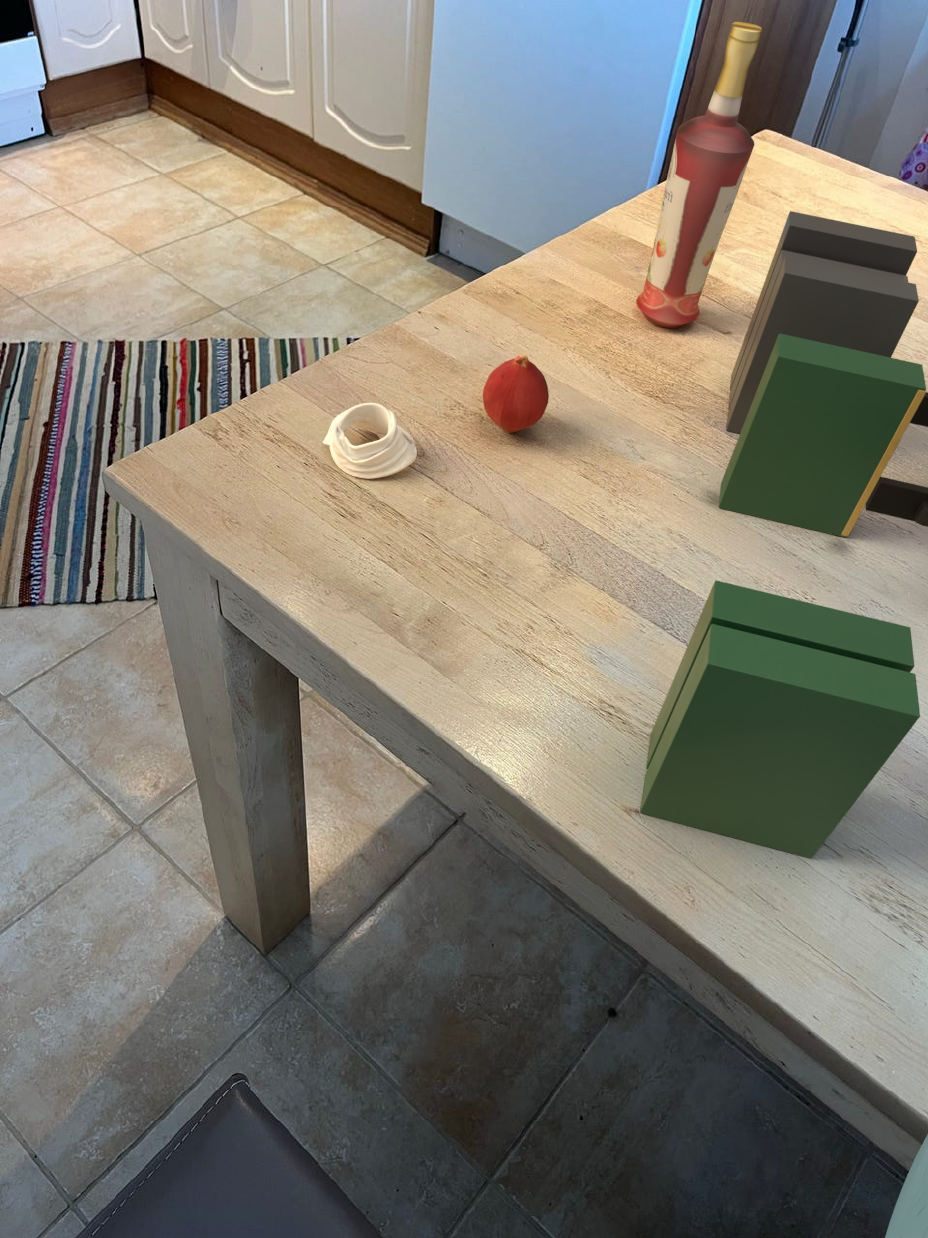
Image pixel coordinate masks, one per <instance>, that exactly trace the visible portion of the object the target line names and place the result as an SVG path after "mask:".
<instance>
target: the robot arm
mask: <svg viewBox="0 0 928 1238" xmlns="http://www.w3.org/2000/svg"><path fill="white" fill-rule="evenodd" d="M909 424H913V425H916V426H921V427H926V428H928V391H926V394H925V396H924V397H923V399H922V401H921V403H920V405H919V407H918V408H917V410H916V412H915V414H914V416H913V418H912V419H911V421H910V423H909ZM865 510H866V511H869V512H872V513H877V514H880V515H885V516H889V517H894V518H898V519H902V520H906V521H910V522H915V524H918V525H920V526H923V527H926V528H928V486H924V485H919V484H916V483H910V482H906V481H902V480H897V479H893V478H889V477H885V476H881V477H880V478H879V480H878V482H877V484H876V486H875V487H874V489H873V491H872V493H871V495H870V497H869V498H868V500H867V502H866V504H865ZM926 1134H927V1135H926V1137H925V1138H924V1140H923V1142H922V1144H921V1146H920V1147H919V1150H918V1152H917V1153H916V1155H915V1157H914V1160H913V1162H912V1164H911V1166H910V1169H909V1171H908V1173H907V1175H906V1177H905V1180H904V1182H903V1185H902V1187H901V1190H900V1193H899V1195H898V1198H897V1199H896V1202H895V1205H894V1208H893V1212H892V1214H891V1217H890V1220H889V1223H888V1227H887V1230H886V1234H885V1236H884V1238H928V1133H926Z"/></svg>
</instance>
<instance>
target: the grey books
mask: <svg viewBox="0 0 928 1238" xmlns="http://www.w3.org/2000/svg"><path fill="white" fill-rule="evenodd" d="M917 254H918V247H917V242H916V237H915V236H914V235H910V234H904V233H901V232H900V233H899V232H895V231H890V230H885V229H880V228H874V227H870V226H866V225H860V224H856V223H850V222H845V221H841V220H836V219H831V218H826V217H821V216H817V215H811V214H807V213H801V212H798V211H797V212H796V211H792V210H790V211H789V212H788V215H787V218H786V221H785V223H784V226H783V229H782V232H781V235H780V238H779V241H778V243H777V246H776V249H775V252H774V254H773V257H772V259H771V263H770V266H769V268H768V271H767V274H766V277H765V280H764V282H763V284H762V287H761V291H760V293H759V297H758V299H757V301H756V304H755V308H754V311H753V312H752V316H751V318H750V320H749V325H748V326H747V330H746V333H745V336H744V339H743V341H742V344H741V347H740V349H739V352H738V354H737V358H736V361H735V363H734V366H733V369H732V371H731V375H730V384H729V385H730V386H729V395H728V406H727V410H728V411H727V415H726V416H727V417H726V427H725V431H727V432H730V433H735V434H739V435H740V433H741V430H742V428H743V425H744V422H745V420H746V417H747V415H748V412H749V410H750V407H751V404H752V402H753V399H754V397H755V394H756V391H757V389H758V386H759V384H760V381H761V379H762V376H763V373H764V371H765V368H766V366H767V363H768V361H769V358H770V355H771V353H772V350H773V348H774V345H775V342H776V340H777V337H778V335H779V334H784V335H789V336H794V337H798V338H803V339H807V340H812V341H817V342H821V343H826V344H830V345H835V346H839V347H844V348H849V349H853V350H858V351H862V352H867V353H872V354H876V355H881V356H885V357H890V358H892V356H893V354H894V352H895V350H896V348H897V346H898V344H899V343H900V340H901V338H902V337H903V334H904V332H905V330H906V328H907V326H908V324H909V322H910V320H911V318H912V316H913V314H914V312H915V310H916V308H917V305H918V303H919V301H920V300H919V295H918V294H919V293H918V288H917V284H916V283H913V282H909V277H908V272H909V270H910V269H911V266H912V264H913V262H914V260H915V258H916V255H917Z"/></svg>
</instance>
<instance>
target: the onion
mask: <svg viewBox="0 0 928 1238" xmlns="http://www.w3.org/2000/svg"><path fill="white" fill-rule="evenodd" d="M549 393H550V391H549V387H548V383H547V379H546V378H545V375H544V374H543V372H542V371H541V370H540V369H539V368H538V367H537V366H536V364H535V363H533V362H531V361H530V360H529V357H528V356H527V355H526V354H523V353H521V354H519V355H518V356H517V357H515V358H511V359H509V360H505V361H504V362H503V363H501V364H500V365H498V366H497V367H495V369H493V370H492V371H491V372H490V373H489V375H488V378H487V380H486V382H485V384H484V387H483V390H482V403H483V407H484V411H485V413H486V415H487V416H488V418H489V419H490V420H491V421H492V422H493V423H494V424H495V425H497V426H498V427H500V428H502V430H504V431H505V432H506V433H508V434H514V433H517V432H519V431H521V430H524V429H526V428H529V427H531V426H533V425H536V423H538V422H539V421H540V420H541V419H542V418H543V416H544V414H545V412H546V410H547V408H548V404H549V397H550V394H549Z"/></svg>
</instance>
